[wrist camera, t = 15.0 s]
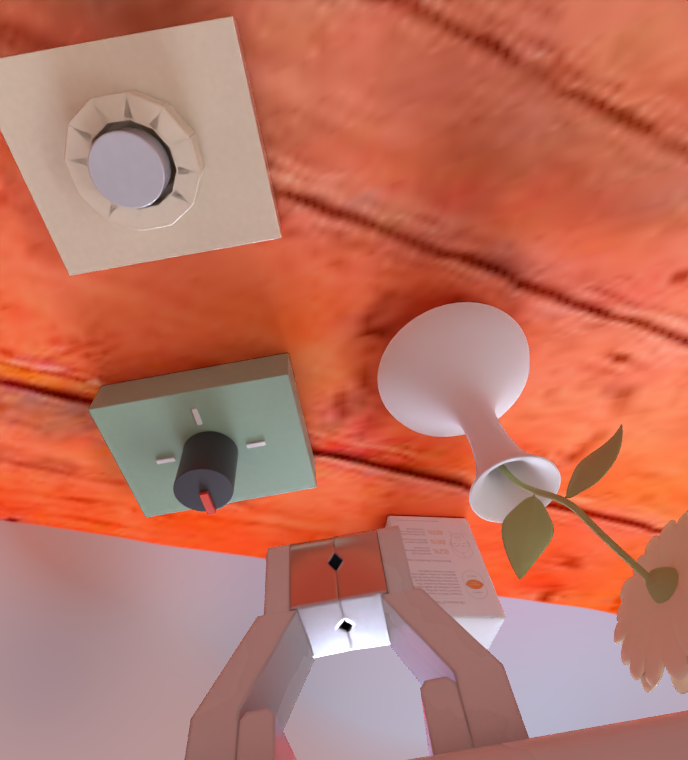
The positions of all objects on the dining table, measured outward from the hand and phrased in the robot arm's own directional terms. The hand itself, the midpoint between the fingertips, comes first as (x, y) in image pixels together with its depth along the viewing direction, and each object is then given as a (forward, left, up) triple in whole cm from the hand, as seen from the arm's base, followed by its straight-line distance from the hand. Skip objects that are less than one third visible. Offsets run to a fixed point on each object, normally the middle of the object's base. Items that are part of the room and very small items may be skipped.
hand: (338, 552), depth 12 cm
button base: (+8, -6, -25) cm, 27 cm away
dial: (+10, +14, -22) cm, 28 cm away
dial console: (+10, +14, -25) cm, 30 cm away
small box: (-6, +31, -25) cm, 41 cm away
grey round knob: (+8, -6, -21) cm, 24 cm away
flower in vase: (-9, +11, -25) cm, 29 cm away
